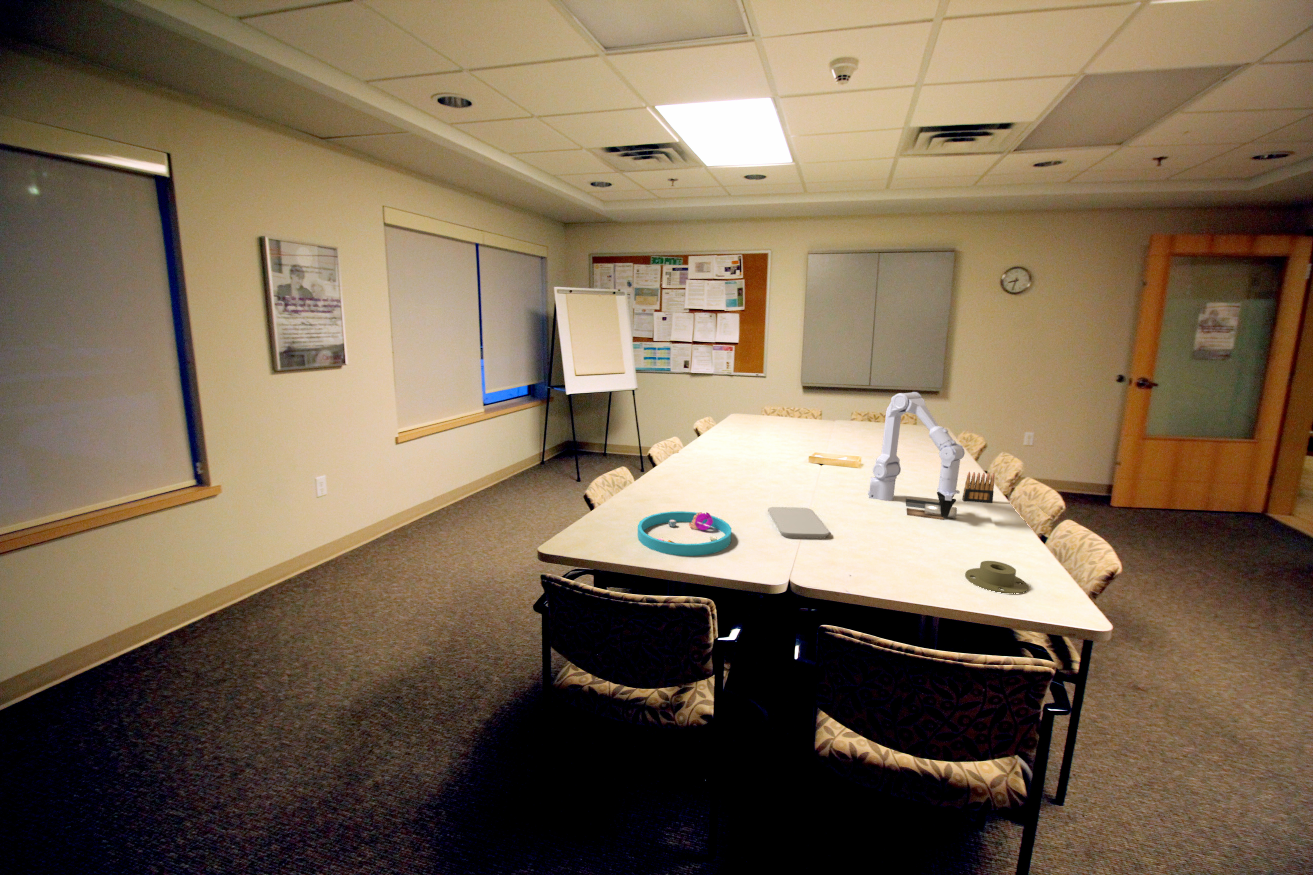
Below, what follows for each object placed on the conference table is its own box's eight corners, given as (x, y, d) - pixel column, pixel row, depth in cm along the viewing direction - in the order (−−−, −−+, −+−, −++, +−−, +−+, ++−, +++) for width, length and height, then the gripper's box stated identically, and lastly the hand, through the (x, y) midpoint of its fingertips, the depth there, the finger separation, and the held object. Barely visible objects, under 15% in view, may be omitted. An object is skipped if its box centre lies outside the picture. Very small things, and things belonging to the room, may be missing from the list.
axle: (924, 516, 207) (926, 505, 206) (924, 512, 211) (925, 502, 210) (955, 520, 204) (957, 509, 203) (954, 516, 207) (955, 506, 207)
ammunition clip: (990, 501, 229) (995, 472, 227) (992, 503, 228) (996, 474, 225) (962, 499, 231) (966, 470, 229) (963, 501, 229) (967, 472, 227)
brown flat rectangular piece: (906, 517, 208) (907, 513, 208) (906, 511, 215) (906, 507, 214) (943, 522, 204) (944, 518, 204) (941, 516, 210) (942, 512, 210)
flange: (962, 552, 167) (973, 574, 153) (1020, 560, 162) (1038, 583, 148) (960, 567, 168) (971, 590, 154) (1018, 575, 163) (1035, 599, 149)
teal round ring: (746, 535, 189) (747, 518, 188) (701, 566, 165) (702, 546, 164) (670, 515, 206) (670, 500, 204) (618, 541, 181) (618, 523, 180)
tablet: (810, 513, 211) (810, 507, 211) (831, 540, 186) (831, 534, 185) (766, 512, 211) (766, 506, 211) (781, 539, 186) (781, 532, 185)
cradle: (905, 508, 218) (906, 503, 218) (905, 503, 225) (905, 497, 224) (946, 513, 213) (947, 508, 213) (944, 508, 220) (945, 502, 219)
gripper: (963, 484, 196) (958, 522, 199) (958, 474, 209) (953, 509, 212) (940, 481, 198) (936, 519, 201) (937, 471, 212) (932, 507, 214)
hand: (943, 514), depth 207 cm, fingers closed on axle, 4 cm apart
